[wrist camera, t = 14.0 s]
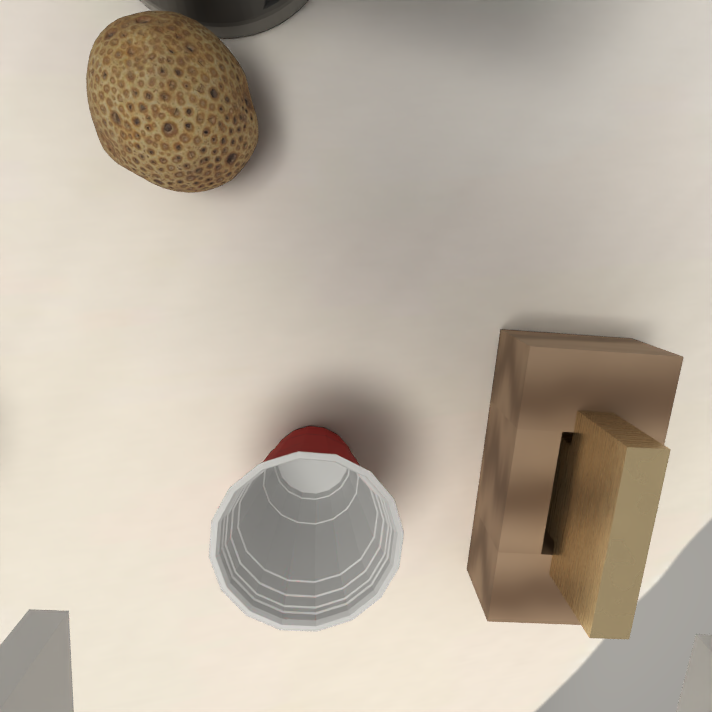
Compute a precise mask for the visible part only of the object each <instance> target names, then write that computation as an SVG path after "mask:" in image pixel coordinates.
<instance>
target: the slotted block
mask: <svg viewBox="0 0 712 712" xmlns="http://www.w3.org/2000/svg"><path fill="white" fill-rule="evenodd" d="M682 361H683V357H682V356H680V355H677V354H674V353H671V352H668V351H665V350H663V349H660V348H657V347H654V346H651V345H649V344H646V343H643V342H640V341H637V340H635V339H631V338H617V337H603V336H588V335H574V334H560V333H546V332H532V331H517V330H503V329H501V330H500V337H499V344H498V351H497V359H496V366H495V373H494V380H493V387H492V394H491V401H490V408H489V415H488V423H487V430H486V437H485V444H484V451H483V458H482V465H481V472H480V479H479V487H478V494H477V501H476V508H475V515H474V522H473V529H472V536H471V543H470V550H469V558H468V565H467V571H468V573H469V576H470V578H471V581H472V583H473V586H474V588H475V591H476V593H477V596H478V598H479V601H480V603H481V606H482V608H483V611H484V614H485V616H486V619H487V621H492V622H519V623H545V624H572V625H581V624H580V622H579V621H578V619H577V617H576V616H575V614H574V613H573V611H572V610H571V608H570V606H569V605H568V603H567V602H566V600H565V598H564V597H563V595H562V594H561V592H560V591H559V589H558V587H557V586H556V584H555V583H554V581H553V579H552V578H551V576H550V575H549V571H550V566H551V560H552V554H553V548H554V543H555V542H554V540H553V539H552V538H551V536H550V535H549V533H548V532H547V531H546V529H545V528H546V522H547V516H548V511H549V505H550V499H551V493H552V488H553V482H554V476H555V471H556V465H557V459H558V453H559V448H560V442H561V436H562V432H574V427H575V421H576V415H577V411H593V412H611V413H615V414H616V415H618V416H619V417H621V418H622V419H624V420H626V421H627V422H629V423H630V424H632V425H633V426H635V427H636V428H638V429H640V430H641V431H643V432H644V433H646V434H647V435H649V436H650V437H652V438H653V439H655V440H657V441H658V442H660V443H661V444H663V445H664V443H665V438H666V434H667V429H668V425H669V420H670V416H671V411H672V407H673V402H674V398H675V393H676V389H677V384H678V380H679V375H680V370H681V366H682Z"/></svg>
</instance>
